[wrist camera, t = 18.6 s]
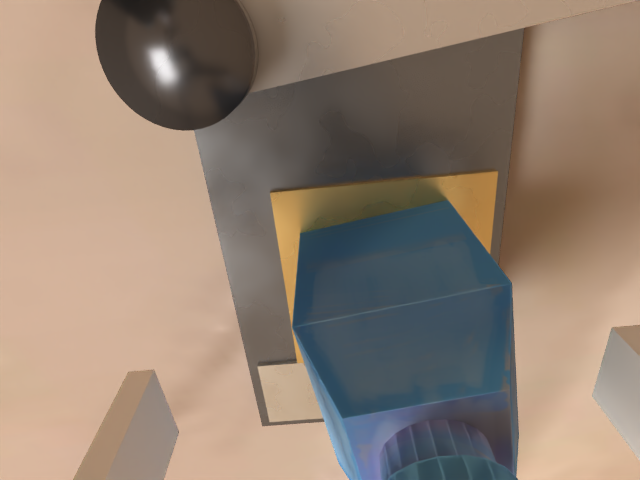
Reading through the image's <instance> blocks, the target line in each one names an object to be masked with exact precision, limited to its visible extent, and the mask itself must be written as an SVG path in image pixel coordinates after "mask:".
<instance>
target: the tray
mask: <svg viewBox="0 0 640 480" xmlns="http://www.w3.org/2000/svg"><path fill="white" fill-rule="evenodd" d="M523 35H524V28H521V29H517V30H513V31H508V32H504V33H500V34H496V35H492V36H487V37H483V38H479V39H475V40H471V41H466V42H462V43H458V44H454V45H450V46H445V47H441V48H437V49H433V50H429V51H424V52H420V53H416V54H412V55H408V56H403V57H399V58H395V59H391V60H387V61H382V62H378V63H374V64H370V65H365V66H361V67H357V68H353V69H349V70H344V71H340V72H336V73H332V74H328V75H323V76H319V77H315V78H311V79H307V80H302V81H298V82H294V83H290V84H286V85H281V86H277V87H273V88H269V89H265V90H260V91H256V92H252V93H248V95H247V96H246V98H245V99H244V100H243V101H242V102H241V104H240V105H239V106H238V107H236V108H235V109H234V110H233V111H232V112H231V113H230V114H229V115H228V116H227V117H226V118H224V119H223V120H221V121H219V122H218V123H216V124H214V125H211V126H209V127H206V128H202V129H197V130H194V132H195V136H196V141H197V145H198V149H199V154H200V158H201V162H202V167H203V171H204V175H205V180H206V184H207V188H208V193H209V197H210V201H211V206H212V210H213V214H214V219H215V223H216V227H217V232H218V236H219V240H220V245H221V249H222V253H223V258H224V262H225V266H226V271H227V275H228V279H229V284H230V288H231V292H232V297H233V301H234V305H235V310H236V314H237V318H238V323H239V327H240V331H241V336H242V340H243V344H244V349H245V353H246V357H247V362H248V366H249V370H250V375H251V379H252V383H253V388H254V392H255V396H256V401H257V405H258V409H259V414H260V418H261V422H262V426H271V425H285V424H299V423H312V422H324V419H323V416H322V413H321V410H320V407H319V404H318V401H317V398H316V396H315V393H314V390H313V387H312V384H311V381H310V378H309V375H308V372H307V369H306V367H305V364H304V361H303V358H302V355H301V352H300V349H299V346H298V343H297V341H296V338H295V335H294V332H293V329H292V321H293V309H294V297H295V286H296V274H297V262H298V251H299V239H300V233H303V232H307V231H312V230H316V229H321V228H325V227H330V226H334V225H339V224H343V223H348V222H352V221H357V220H361V219H365V218H370V217H374V216H379V215H383V214H388V213H392V212H397V211H401V210H406V209H410V208H414V207H419V206H423V205H428V204H432V203H437V202H441V201H446V200H449V201H450V203H451V204H452V205H453V207H454V208H455V209H456V211H457V212H458V213H459V215H460V216H461V217H462V218H463V220H464V221H465V222H466V224H467V225H468V226H469V228H470V229H471V230H472V232H473V233H474V234H475V235H476V237H477V238H478V239H479V241H480V242H481V243H482V245H483V246H484V247H485V249H486V250H487V251H488V253H489V254H490V255H491V256H492V258H493V259H494V260H495V262H496V263H497V264H498V265H499V255H500V246H501V237H502V228H503V219H504V210H505V200H506V191H507V182H508V173H509V164H510V154H511V145H512V136H513V127H514V118H515V109H516V99H517V90H518V81H519V72H520V63H521V53H522V44H523Z"/></svg>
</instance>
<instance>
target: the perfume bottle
mask: <svg viewBox="0 0 640 480" xmlns="http://www.w3.org/2000/svg"><path fill="white" fill-rule="evenodd" d="M292 329H293V332H294V335H295V338H296V341H297V343H298V346H299V349H300V352H301V355H302V358H303V361H304V364H305V367H306V369H307V372H308V375H309V378H310V381H311V384H312V387H313V390H314V393H315V396H316V398H317V401H318V404H319V407H320V410H321V413H322V416H323V419H324V422H325V425H326V427H327V430H328V433H329V436H330V439H331V442H332V445H333V448H334V451H335V453H336V456H337V459H338V462H339V464H340V466H341V467H342V469H343V470H344V472H345V473H346V475H347V477H348V478H349V480H518V479H517V478H516V472H517V455H518V439H519V429H518V407H517V385H516V363H515V341H514V320H513V298H512V283H511V281H510V280H509V279H508V277H507V276H506V275H505V274H504V272H503V271H502V270H501V268H500V267H499V266H498V264H497V263H496V262H495V260H494V259H493V258H492V256H491V255H490V254H489V253H488V251H487V250H486V249H485V247H484V246H483V245H482V243H481V242H480V241H479V239H478V238H477V237H476V235H475V234H474V233H473V232H472V230H471V229H470V228H469V226H468V225H467V224H466V222H465V221H464V220H463V218H462V217H461V216H460V215H459V213H458V212H457V211H456V209H455V208H454V207H453V205H452V204H451V203H450V201H449V200H446V201H441V202H437V203H432V204H428V205H423V206H419V207H414V208H410V209H406V210H401V211H397V212H392V213H388V214H383V215H379V216H374V217H370V218H365V219H361V220H357V221H352V222H348V223H343V224H339V225H334V226H330V227H325V228H321V229H316V230H312V231H307V232H303V233H300V239H299V251H298V262H297V274H296V286H295V297H294V309H293V321H292Z"/></svg>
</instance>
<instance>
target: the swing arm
mask: <svg viewBox="0 0 640 480" xmlns="http://www.w3.org/2000/svg"><path fill="white" fill-rule="evenodd" d="M634 1H639V0H102V1H101V3H100V6H99V10H98V13H97V19H96V29H95V38H96V46H97V51H98V56H99V60H100V63H101V65H102V68H103V71H104V73H105V75H106V77H107V79H108V81H109V82H110V84H111V86H112V87H113V89H114V90H115V92H116V93H117V94H118V95H119V97H120V98H121V99H122V100H123V101H124V102H125V103H126V104H127V105H128V106H129V107H130V108H131V109H132V110H134V111H135V112H136V113H137V114H139V115H140V116H142V117H143V118H145V119H147V120H149V121H151V122H152V123H154V124H157V125H160V126H162V127H166V128H170V129H175V130H197V129H202V128H206V127H209V126H211V125H214V124H216V123H218V122H219V121H221V120H223V119H224V118H226V117H227V116H228V115H229V114H230V113H231V112H232V111H233V110H234V109H235V108H236V107H238V106H239V105H240V104H241V102H242V101H243V100H244V99H245V98H246V96H247V95H248V93H252V92H256V91H260V90H265V89H269V88H273V87H277V86H281V85H286V84H290V83H294V82H298V81H302V80H307V79H311V78H315V77H319V76H323V75H328V74H332V73H336V72H340V71H344V70H349V69H353V68H357V67H361V66H365V65H370V64H374V63H378V62H382V61H387V60H391V59H395V58H399V57H403V56H408V55H412V54H416V53H420V52H424V51H429V50H433V49H437V48H441V47H445V46H450V45H454V44H458V43H462V42H466V41H471V40H475V39H479V38H483V37H487V36H492V35H496V34H500V33H504V32H508V31H513V30H517V29H521V28H525V27H529V26H534V25H538V24H542V23H546V22H550V21H555V20H559V19H563V18H567V17H571V16H576V15H580V14H584V13H588V12H592V11H597V10H601V9H605V8H609V7H613V6H618V5H622V4H626V3H630V2H634Z"/></svg>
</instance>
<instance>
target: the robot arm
mask: <svg viewBox="0 0 640 480" xmlns="http://www.w3.org/2000/svg"><path fill="white" fill-rule="evenodd" d="M592 397H593V398H594V399H595V401H596V402H597V403H598V405H599V406H600V408H601V409H602V410H603V412H604V413H605V414H606V416H607V417H608V418H609V420H610V421H611V423H612V424H613V425H614V427H615V428H616V429H617V431H618V432H619V433H620V435H621V436H622V437H623V439H624V440H625V442H626V443H627V444H628V446H629V447H630V448H631V450H632V451H633V452H634V454H635V455H636V456H637V458H638V459H639V461H640V325H633V326H623V327H612V329H611V332H610V335H609V339H608V342H607V346H606V349H605V353H604V356H603V360H602V363H601V367H600V370H599V374H598V377H597V381H596V384H595V388H594V391H593V395H592ZM178 433H179V431H178V428H177V426H176V423H175V421H174V418H173V416H172V413H171V411H170V408H169V406H168V403H167V401H166V398H165V396H164V393H163V391H162V388H161V386H160V383H159V381H158V378H157V376H156V373H155V371H154V370H145V371H134V372H128V374H127V376H126V378H125V379H124V381H123V383H122V385H121V387H120V389H119V391H118V393H117V395H116V397H115V399H114V401H113V403H112V405H111V407H110V409H109V411H108V413H107V415H106V417H105V418H104V420H103V422H102V424H101V426H100V428H99V430H98V432H97V434H96V436H95V438H94V440H93V442H92V444H91V446H90V448H89V450H88V452H87V454H86V456H85V457H84V459H83V461H82V463H81V465H80V467H79V469H78V471H77V473H76V475H75V477H74V479H73V480H164V477H165V474H166V471H167V468H168V465H169V462H170V458H171V455H172V452H173V449H174V446H175V443H176V440H177V436H178Z"/></svg>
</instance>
